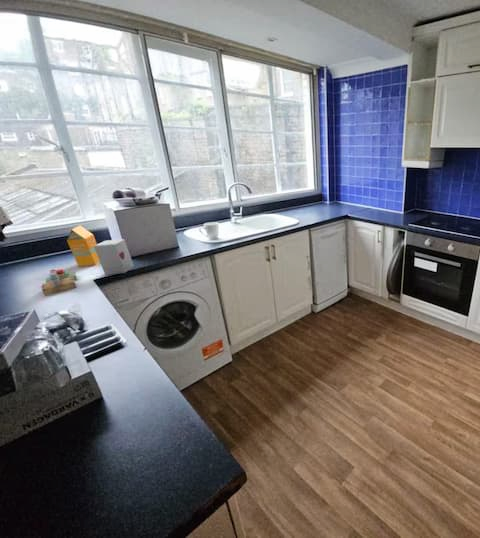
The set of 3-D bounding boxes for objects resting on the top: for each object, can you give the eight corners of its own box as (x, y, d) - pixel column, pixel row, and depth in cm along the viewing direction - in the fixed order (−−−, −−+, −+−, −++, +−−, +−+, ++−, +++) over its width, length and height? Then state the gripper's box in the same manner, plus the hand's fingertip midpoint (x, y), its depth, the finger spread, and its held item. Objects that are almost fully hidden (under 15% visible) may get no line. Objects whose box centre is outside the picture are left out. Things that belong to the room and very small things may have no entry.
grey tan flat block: (60, 284, 126) (55, 273, 124) (55, 285, 125) (49, 274, 123) (60, 279, 131) (54, 269, 129) (55, 281, 130) (49, 270, 128)
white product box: (124, 273, 143) (113, 244, 137) (104, 275, 142) (92, 245, 136) (134, 266, 151) (124, 238, 145) (115, 268, 150) (104, 240, 144)
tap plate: (43, 297, 122) (39, 290, 121) (43, 289, 129) (39, 283, 128) (78, 288, 129) (75, 281, 128) (76, 281, 136) (73, 274, 135)
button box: (48, 287, 131) (44, 279, 130) (47, 282, 136) (44, 274, 134) (77, 280, 138) (74, 272, 136) (76, 275, 142) (73, 268, 141)
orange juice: (103, 259, 163) (89, 224, 155) (96, 265, 155) (80, 228, 147) (86, 261, 161) (71, 225, 153) (78, 267, 153) (61, 230, 145)
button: (54, 276, 133) (52, 273, 132) (54, 274, 135) (52, 271, 135) (64, 274, 135) (63, 270, 135) (64, 272, 137) (62, 268, 137)
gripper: (-58, 199, 104) (-29, 248, 111) (5, 193, 113) (27, 238, 121) (-53, 197, 109) (-26, 244, 116) (6, 191, 118) (28, 235, 125)
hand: (1, 241), depth 118 cm, fingers closed
